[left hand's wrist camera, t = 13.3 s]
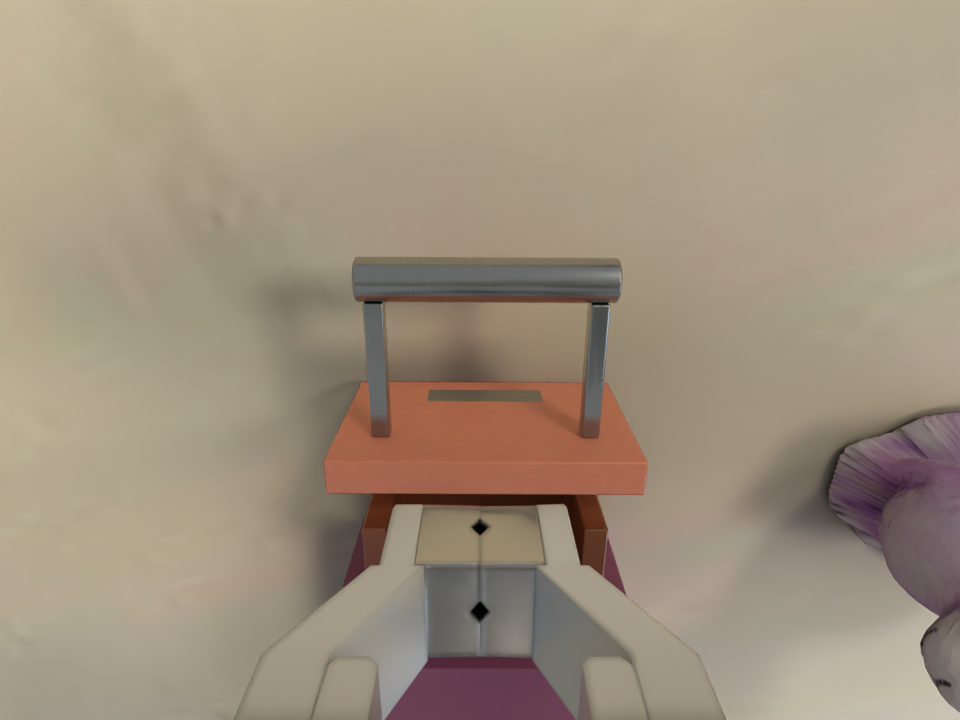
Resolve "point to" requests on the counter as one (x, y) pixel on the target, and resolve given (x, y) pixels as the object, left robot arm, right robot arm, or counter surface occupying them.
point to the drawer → (486, 407)
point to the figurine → (913, 524)
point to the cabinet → (480, 678)
